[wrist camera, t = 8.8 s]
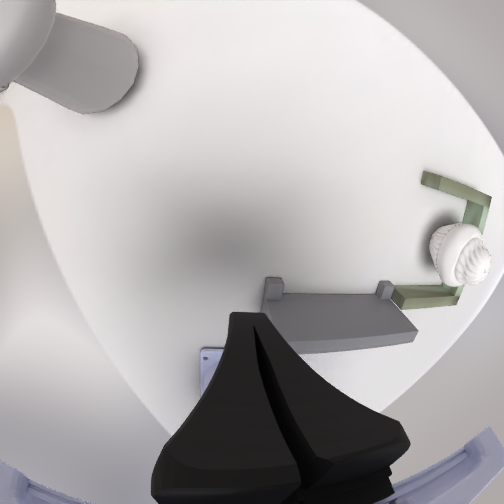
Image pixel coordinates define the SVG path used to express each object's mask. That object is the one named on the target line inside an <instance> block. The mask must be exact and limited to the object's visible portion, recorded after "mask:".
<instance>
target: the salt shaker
mask: <svg viewBox="0 0 504 504" xmlns="http://www.w3.org/2000/svg"><path fill="white" fill-rule="evenodd" d="M138 67H139V64H138V54H137V48H136V46H135V45H134V44H133V43H132V41H131V40H130V39H129V38H128V37H127V36H126V35H124V34H121V33H119V32H116V31H113V30H110V29H108V28H105V27H102V26H99V25H95V24H92V23H89V22H86V21H82V20H79V19H76V18H73V17H70V16H66V15H63V14H59V13H56V2H55V0H0V87H2V86H4V85H6V84H8V83H11V82H13V81H14V82H16V83H18V84H20V85H22V86H24V87H26V88H28V89H30V90H32V91H34V92H36V93H38V94H40V95H42V96H44V97H46V98H48V99H50V100H52V101H54V102H56V103H58V104H60V105H62V106H64V107H66V108H68V109H70V110H73V111H76V112H78V113H81V114H87V113H94V112H101V111H104V110H106V109H107V108H109V107H110V106H112V105H113V104H115V103H117V102H118V101H120V100H121V98H122V97H123V96H124V95H125V93H126V92H127V91H128V90H129V89H130V87H131V86H132V85H133V83H134V80H135V76H136V73H137V70H138Z"/></svg>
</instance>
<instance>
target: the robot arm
mask: <svg viewBox="0 0 504 504" xmlns="http://www.w3.org/2000/svg"><path fill="white" fill-rule="evenodd" d="M205 357H207V358H205ZM200 394H201V398H200V400H199V401H198V403H197V405H196V406H195V407H194V409H193V410H192V412H191V413H190V415H189V416H188V417H187V419H186V420H185V421H184V423H183V424H182V425H181V427H180V428H179V429H178V430H177V431H176V433H175V434H174V435H173V436H172V437H171V438H170V439H169V441H168V442H167V443H166V444H165V445H164V447H163V449H162V451H161V454H160V455H159V457H158V460H157V462H156V464H155V467H154V470H153V473H152V478H151V496H152V497H153V498H154V499H155V500H156V501H157V502H158V504H387V503H388V504H470V503H471V502H472V501H473V500H474V499H475V498H476V497H477V495H479V494H480V493H481V492H482V490H483V489H484V488H485V487H486V486H487V485H488V484H489V483H490V482H491V481H492V480H493V479H494V478H495V477H496V476H497V475H498V474H499V473H500V472H501V471H502V470H503V469H504V448H503V446H502V445H501V443H500V441H499V440H498V438H497V436H496V435H495V433H494V432H493V430H492V428H491V427H490V426H488V427H487V428H485V429H484V430H483V431H481V432H480V433H478V434H477V435H476V436H475V437H473V438H472V439H471V440H470V441H469V442H468V443H466V444H465V446H464V447H462V448H461V449H459V450H458V451H456V452H455V453H453V454H451V455H450V456H448V457H446V458H445V459H443V460H441V461H439V462H438V463H436V464H434V465H432V466H430V467H428V468H427V469H425V470H423V471H421V472H419V473H417V474H415V475H413V476H411V477H409V478H406V479H404V480H402V481H400V482H398V483H395V484H393V485H392V484H391V482H390V480H389V476H391V475H392V472H391V469H390V467H389V466H390V465H391V464H393V463H394V462H395V461H396V460H397V459H399V458H400V457H401V456H402V455H403V454H404V453H405V452H406V451H407V450H408V449H409V447H410V441H409V439H408V437H407V435H406V433H405V431H404V429H403V427H402V425H401V424H400V422H399V421H397V420H394V419H392V418H389V417H387V416H385V415H382V414H380V413H378V412H375V411H373V410H371V409H369V408H368V407H366V406H364V405H362V404H360V403H358V402H357V401H355V400H353V399H352V398H350V397H348V396H347V395H345V394H344V393H342V392H341V391H339V390H338V389H336V388H335V387H334V386H332V385H331V384H330V383H328V382H327V381H326V380H325V379H323V378H322V377H321V376H320V375H319V374H317V373H316V372H315V371H314V370H313V369H312V368H311V367H310V366H309V365H308V364H307V363H306V362H305V361H304V360H303V359H302V358H301V357H300V356H299V355H298V354H297V353H296V352H295V351H294V350H293V348H292V347H291V346H290V345H289V344H288V343H287V341H286V340H285V339H284V338H283V337H282V335H281V334H280V333H279V331H278V330H277V329H276V327H275V326H274V325H273V323H272V322H271V321H270V319H269V318H268V317H267V315H266V314H265V313H253V312H232V313H231V314H230V317H229V327H228V337H227V341H226V344H225V348H224V349H202V350H201V352H200ZM0 504H94V503H90V502H87V501H84V500H81V499H78V498H75V497H72V496H69V495H67V494H63V493H61V492H59V491H56V490H54V489H51V488H49V487H46V486H44V485H42V484H39V483H37V482H35V481H33V480H31V479H29V478H28V477H27V476H26V475H24V474H23V473H22V472H20V471H19V470H17V469H16V468H14V467H12V466H11V465H9V464H7V463H5V462H3V461H2V460H0Z"/></svg>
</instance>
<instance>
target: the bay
mask: <svg viewBox="0 0 504 504" xmlns="http://www.w3.org/2000/svg"><path fill="white" fill-rule="evenodd" d="M421 184H423V185H426V186H428V187H431V188H434V189H437V190H440V191H443V192H446V193H449V194H452V195H455V196H458V197H461V198H464V199H466V200H468V203H467V207H466V211H465V215H464V219H463V224H471V225H474V226H476V227H477V228H478V229H479V231H480V232H481V235H482V234H483V230H484V227H485V223H486V219H487V215H488V211H489V207H490V203H491V198H492V197H491V196H489V195H486V194H484V193H482V192H480V191H477V190H475V189H473V188H470V187H468V186H466V185H463V184H461V183H458V182H456V181H453V180H451V179H448V178H445V177H443V176H440V175H436V174H433V173H429V172H426V171H423V176H422V181H421ZM464 285H465V284H462V285H460V286H456V287H452V286H448V285H446V284H445V283H442V285H436V286H395V288H394V290H393V293H392V296H391V299H392V301H393V302H394V303H395V304H396V305H397V306H398V307H399V308H400V309H401V310H406V309H419V308H431V307H442V306H452V305H456V304H457V302H458V300H459V297H460V295H461V293H462V290H463V288H464Z"/></svg>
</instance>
